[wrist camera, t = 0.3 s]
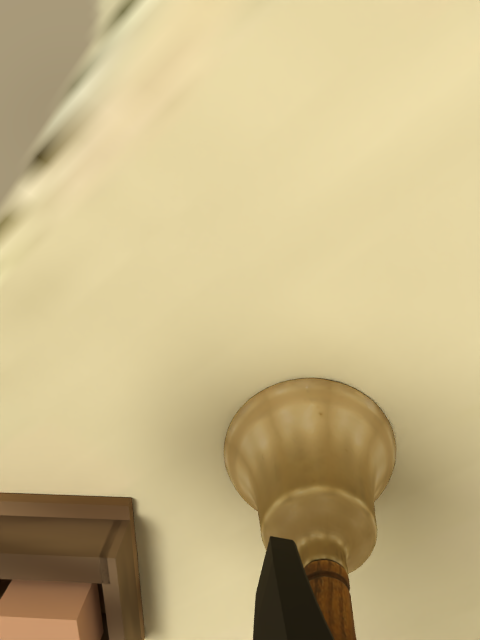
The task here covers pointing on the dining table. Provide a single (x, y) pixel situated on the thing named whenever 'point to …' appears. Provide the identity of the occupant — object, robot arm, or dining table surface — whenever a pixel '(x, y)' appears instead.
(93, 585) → the key one terracotta
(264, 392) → the hand bell
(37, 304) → the dining table surface
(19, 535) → the wooden tray
